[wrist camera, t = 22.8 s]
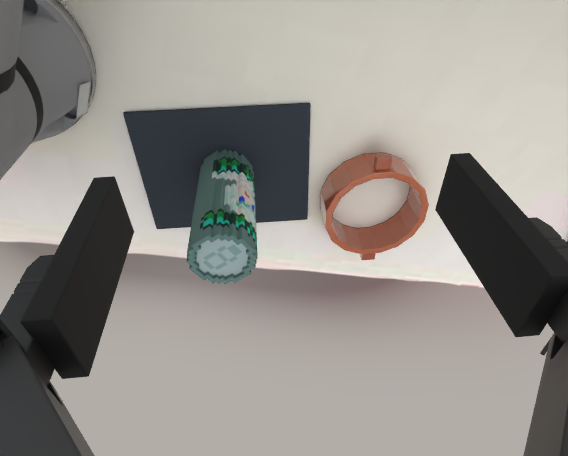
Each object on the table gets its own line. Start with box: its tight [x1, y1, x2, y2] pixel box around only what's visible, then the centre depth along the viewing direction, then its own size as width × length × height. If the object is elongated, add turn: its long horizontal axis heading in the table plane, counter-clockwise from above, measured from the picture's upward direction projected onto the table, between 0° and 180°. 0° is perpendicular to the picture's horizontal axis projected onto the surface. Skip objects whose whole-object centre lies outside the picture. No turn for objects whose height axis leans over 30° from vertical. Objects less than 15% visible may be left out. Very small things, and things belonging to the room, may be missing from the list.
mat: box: [124, 103, 310, 229], centre depth 48 cm, size 20×16×1 cm
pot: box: [320, 153, 429, 260], centre depth 50 cm, size 13×16×4 cm
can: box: [187, 149, 257, 284], centre depth 42 cm, size 6×6×15 cm
